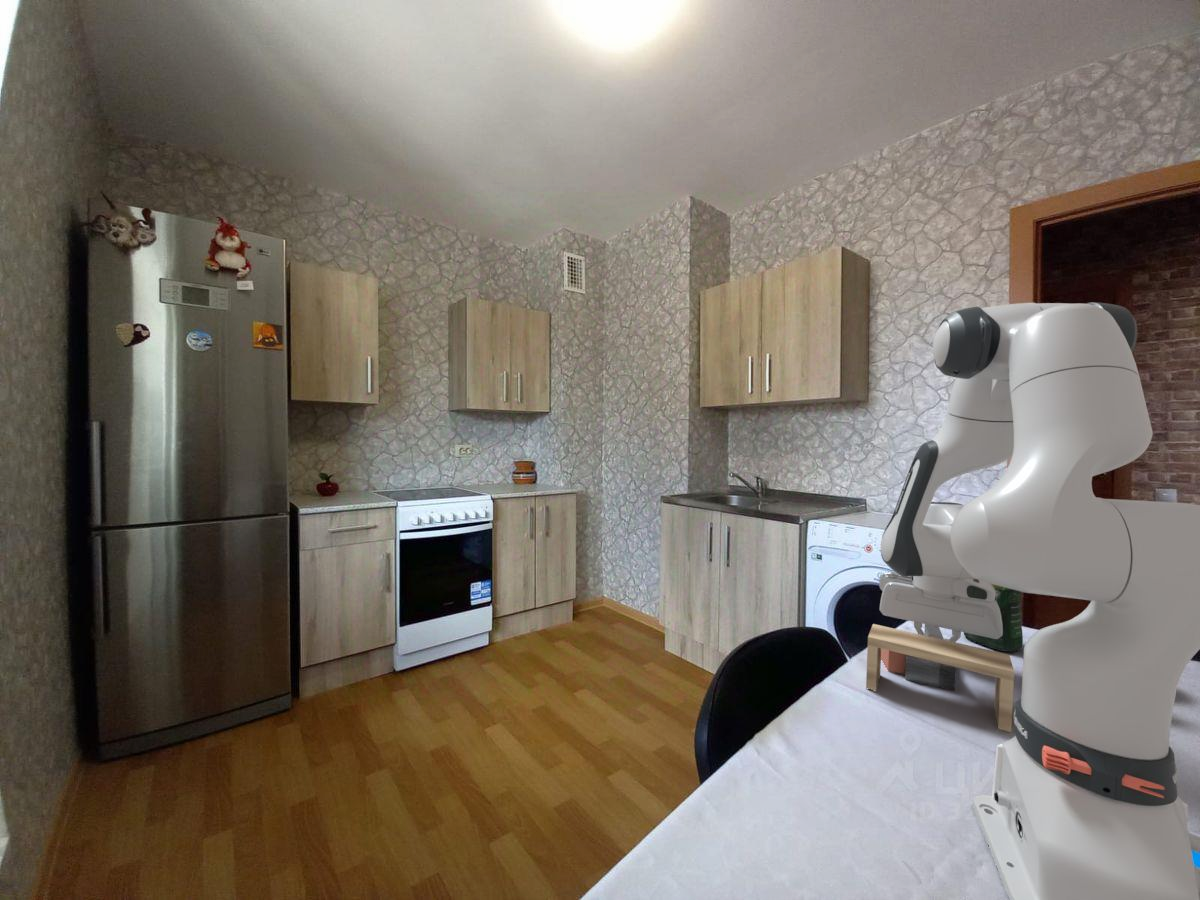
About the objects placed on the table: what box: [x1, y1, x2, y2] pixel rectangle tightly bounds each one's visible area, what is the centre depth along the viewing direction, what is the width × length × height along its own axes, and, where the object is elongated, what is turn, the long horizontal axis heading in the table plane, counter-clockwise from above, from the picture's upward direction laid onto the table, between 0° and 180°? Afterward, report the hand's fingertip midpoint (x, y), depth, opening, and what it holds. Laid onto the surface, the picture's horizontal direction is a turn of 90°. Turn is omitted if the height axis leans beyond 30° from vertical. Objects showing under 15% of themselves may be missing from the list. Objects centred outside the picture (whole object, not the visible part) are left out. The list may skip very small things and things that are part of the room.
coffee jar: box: [963, 583, 1024, 653], centre depth 101 cm, size 10×8×19 cm
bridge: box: [865, 623, 1015, 733], centre depth 80 cm, size 7×20×10 cm, turn 53°
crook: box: [903, 624, 957, 691], centre depth 94 cm, size 21×7×4 cm, turn 151°
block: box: [881, 648, 905, 675], centre depth 91 cm, size 5×5×5 cm
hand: (936, 646), depth 95 cm, fingers closed on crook, 3 cm apart
